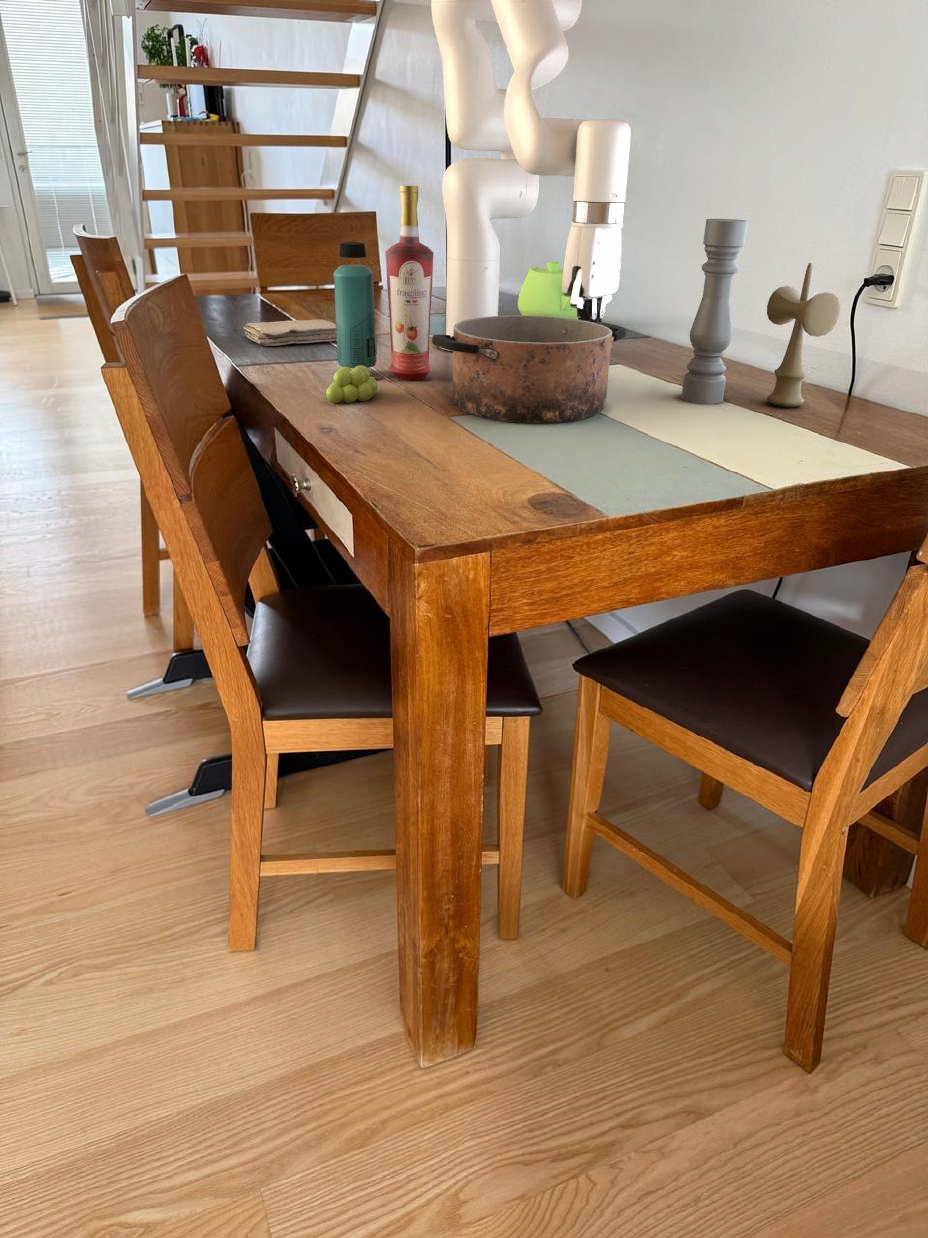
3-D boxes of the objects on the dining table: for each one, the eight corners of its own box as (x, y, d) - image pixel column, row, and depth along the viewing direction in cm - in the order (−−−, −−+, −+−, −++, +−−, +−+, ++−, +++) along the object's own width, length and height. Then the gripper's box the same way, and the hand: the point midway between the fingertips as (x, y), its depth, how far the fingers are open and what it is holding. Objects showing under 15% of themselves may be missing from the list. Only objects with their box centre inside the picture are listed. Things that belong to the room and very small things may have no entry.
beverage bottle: (370, 379, 146) (367, 244, 137) (331, 376, 148) (325, 242, 138) (382, 370, 152) (379, 240, 143) (343, 368, 153) (338, 239, 144)
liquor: (389, 382, 145) (386, 186, 132) (385, 372, 151) (382, 184, 138) (435, 381, 146) (437, 187, 133) (429, 371, 152) (430, 185, 139)
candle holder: (724, 396, 141) (751, 219, 130) (720, 405, 136) (748, 222, 125) (683, 392, 143) (706, 217, 132) (678, 401, 138) (702, 220, 126)
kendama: (788, 414, 132) (815, 266, 123) (748, 398, 140) (771, 258, 131) (822, 411, 134) (851, 265, 125) (780, 396, 142) (805, 258, 133)
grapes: (367, 386, 142) (366, 357, 140) (401, 394, 138) (401, 363, 136) (311, 400, 133) (310, 369, 131) (346, 408, 130) (345, 376, 128)
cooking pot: (568, 378, 150) (573, 310, 145) (657, 410, 132) (666, 333, 128) (402, 397, 136) (402, 322, 131) (478, 435, 119) (480, 350, 114)
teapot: (602, 330, 191) (607, 266, 185) (545, 334, 186) (550, 268, 180) (553, 315, 207) (557, 256, 201) (500, 318, 202) (503, 257, 196)
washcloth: (241, 337, 176) (239, 320, 175) (329, 330, 184) (328, 314, 182) (260, 348, 167) (259, 330, 165) (352, 341, 175) (351, 324, 173)
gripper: (600, 212, 142) (590, 335, 150) (549, 215, 131) (542, 348, 139) (644, 215, 138) (632, 341, 146) (595, 218, 127) (585, 354, 135)
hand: (588, 344), depth 142 cm, fingers closed
